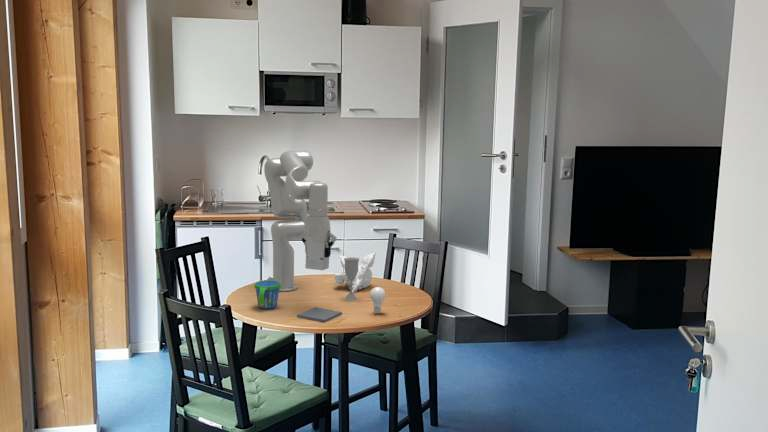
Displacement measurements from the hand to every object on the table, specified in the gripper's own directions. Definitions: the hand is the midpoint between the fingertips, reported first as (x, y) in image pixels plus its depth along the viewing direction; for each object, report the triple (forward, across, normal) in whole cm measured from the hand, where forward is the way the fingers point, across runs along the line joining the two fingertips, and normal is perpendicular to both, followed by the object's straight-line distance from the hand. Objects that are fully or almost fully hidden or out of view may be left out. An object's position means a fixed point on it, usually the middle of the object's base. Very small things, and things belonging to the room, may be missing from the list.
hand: (317, 255), depth 269 cm
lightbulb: (+23, +24, +8) cm, 34 cm away
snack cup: (+23, -20, -8) cm, 31 cm away
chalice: (+23, +4, +21) cm, 31 cm away
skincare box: (+6, 0, 0) cm, 6 cm away
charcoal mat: (+23, +5, -7) cm, 24 cm away
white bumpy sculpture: (+22, -5, +40) cm, 46 cm away
